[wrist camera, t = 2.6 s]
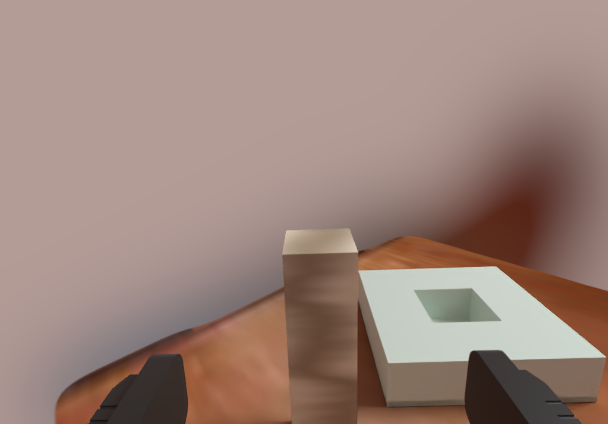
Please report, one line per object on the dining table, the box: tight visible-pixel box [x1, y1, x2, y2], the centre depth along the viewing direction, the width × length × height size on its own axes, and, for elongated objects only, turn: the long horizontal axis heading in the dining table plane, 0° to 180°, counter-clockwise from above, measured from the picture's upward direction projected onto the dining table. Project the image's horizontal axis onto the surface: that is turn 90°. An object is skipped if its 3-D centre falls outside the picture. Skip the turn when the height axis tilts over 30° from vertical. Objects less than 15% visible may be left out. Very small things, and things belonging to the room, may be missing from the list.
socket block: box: [358, 267, 606, 407], centre depth 35 cm, size 16×16×4 cm
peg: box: [282, 228, 358, 424], centre depth 23 cm, size 4×4×15 cm
